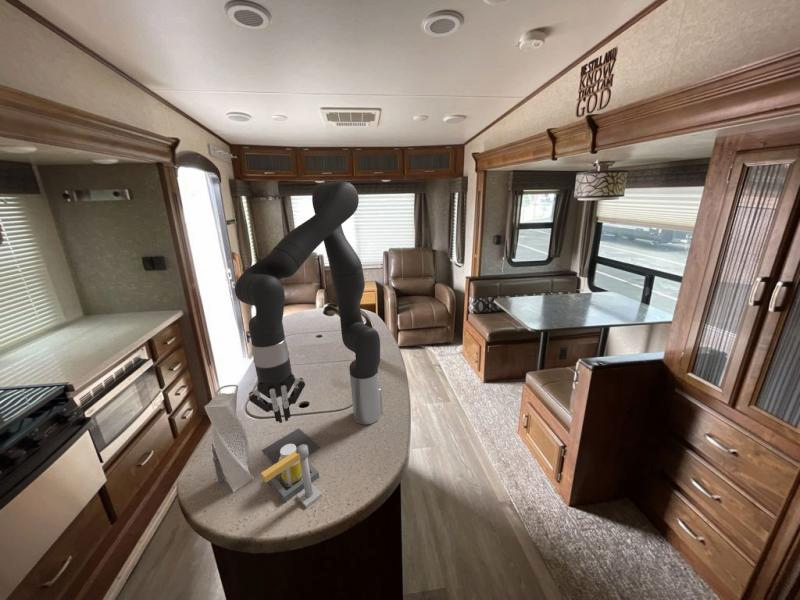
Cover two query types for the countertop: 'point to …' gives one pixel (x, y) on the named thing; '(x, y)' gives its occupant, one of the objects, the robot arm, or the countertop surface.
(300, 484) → the socket
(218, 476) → the skyscraper
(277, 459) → the mat
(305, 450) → the yellow lever
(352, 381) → the robot arm
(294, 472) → the supplement bottle
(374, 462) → the countertop surface
